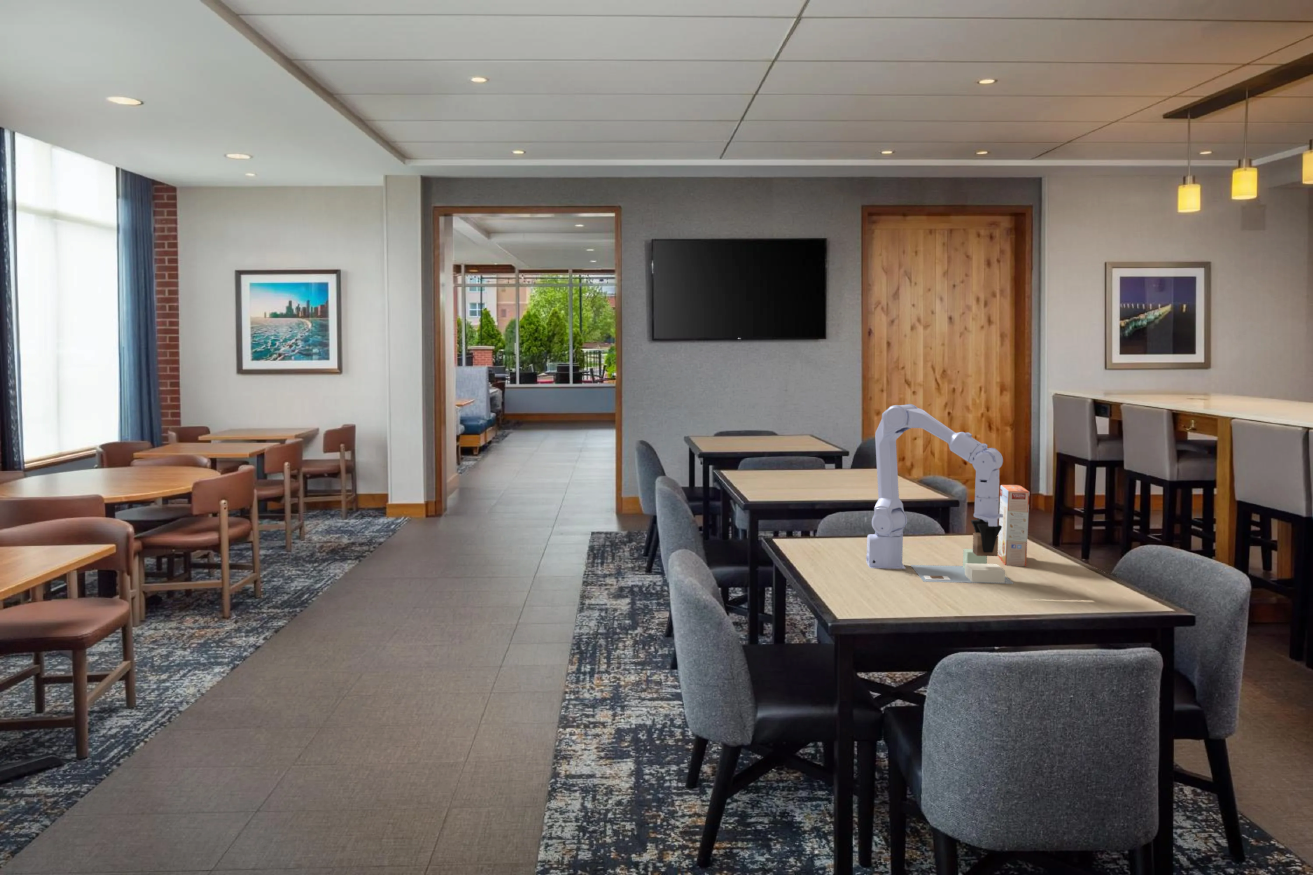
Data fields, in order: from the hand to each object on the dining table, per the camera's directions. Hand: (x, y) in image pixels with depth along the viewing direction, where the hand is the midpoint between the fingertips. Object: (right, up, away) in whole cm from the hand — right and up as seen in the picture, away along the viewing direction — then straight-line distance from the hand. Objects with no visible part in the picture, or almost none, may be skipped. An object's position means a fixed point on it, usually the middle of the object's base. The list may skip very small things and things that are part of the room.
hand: (985, 550), depth 249 cm
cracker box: (+15, -6, +23) cm, 28 cm away
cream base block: (0, -7, +1) cm, 7 cm away
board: (-4, -7, +6) cm, 11 cm away
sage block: (+1, -6, +11) cm, 13 cm away
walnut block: (0, -1, 0) cm, 1 cm away
